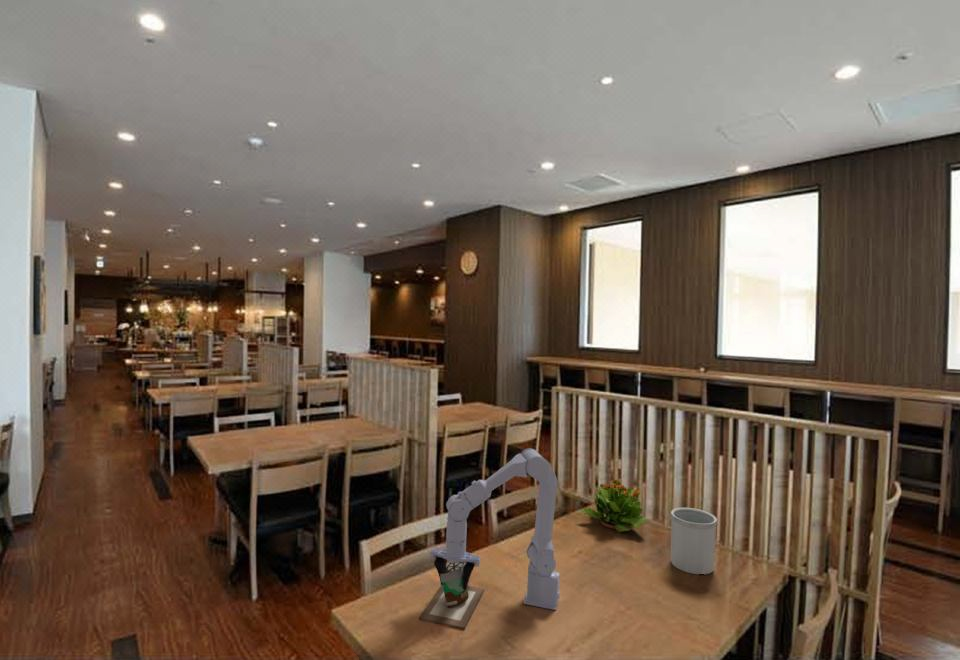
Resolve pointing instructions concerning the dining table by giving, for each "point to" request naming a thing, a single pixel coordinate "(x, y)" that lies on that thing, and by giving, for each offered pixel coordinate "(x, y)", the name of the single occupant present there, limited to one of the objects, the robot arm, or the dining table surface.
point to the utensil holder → (693, 540)
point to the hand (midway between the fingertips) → (454, 585)
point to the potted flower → (617, 507)
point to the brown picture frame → (451, 609)
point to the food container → (454, 584)
